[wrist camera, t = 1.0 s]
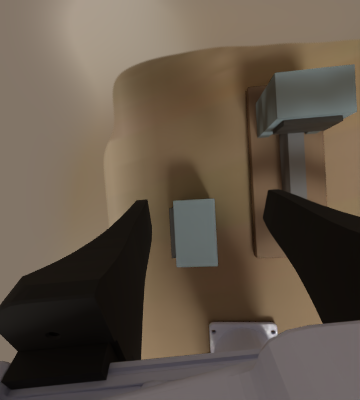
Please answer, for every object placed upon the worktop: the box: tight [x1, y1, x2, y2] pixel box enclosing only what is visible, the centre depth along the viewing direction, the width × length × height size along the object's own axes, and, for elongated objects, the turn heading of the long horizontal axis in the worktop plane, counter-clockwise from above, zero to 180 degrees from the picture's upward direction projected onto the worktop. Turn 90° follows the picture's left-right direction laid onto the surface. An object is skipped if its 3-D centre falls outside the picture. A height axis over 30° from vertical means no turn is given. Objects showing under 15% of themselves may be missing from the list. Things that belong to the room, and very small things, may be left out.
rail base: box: [246, 64, 357, 258], centre depth 20 cm, size 20×8×6 cm, turn 3°
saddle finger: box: [169, 199, 218, 267], centre depth 21 cm, size 4×6×6 cm
